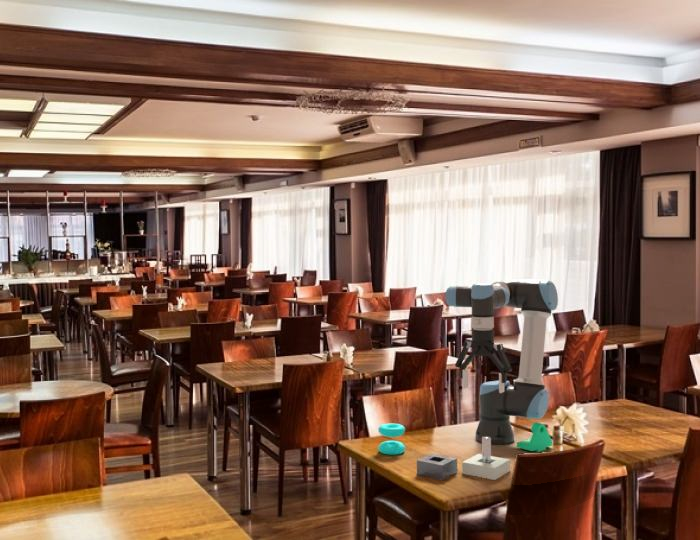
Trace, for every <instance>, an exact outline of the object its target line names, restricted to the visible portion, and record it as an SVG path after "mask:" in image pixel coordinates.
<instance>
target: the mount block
mask: <svg viewBox="0 0 700 540" xmlns="http://www.w3.org/2000/svg"><path fill="white" fill-rule="evenodd" d="M457 473H458V458H457V457H453V456H449V455H443V454H436V453H432V452H431V453H429V454H427V455H425V456H423V457H421V458H419V459H416V476H420V477H425V478H429V479H430V478H431V479H435V480H439V481H444V480H446V479H448V478H450V477H452V476H453V475H456V474H457Z"/></svg>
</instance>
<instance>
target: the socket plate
mask: <svg viewBox="0 0 700 540" xmlns="http://www.w3.org/2000/svg"><path fill="white" fill-rule="evenodd" d="M461 463H462V464H461V465H462V466H461V467H462V469H461V472H462V474H463V475H467V476H472V477H476V476H477V477H478V478H481V477H482V478H483V479H486V478H487V480H493V481H496V480H498V479H499V478H501V477H502V476H504V475H506V474H507V473H509V472H510V471H511V459H510V458H504V457H498V456H493V455H491V463H490V464H488V463H483V462H482V453H477V454H475V455H473V456H471V457H470V458H468V459H466V460H464V461H462V462H461Z"/></svg>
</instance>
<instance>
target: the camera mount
mask: <svg viewBox="0 0 700 540" xmlns="http://www.w3.org/2000/svg"><path fill="white" fill-rule="evenodd" d="M530 429H531V433H532V435H531V438H530V439H525V440H521V441H517V442H516V447H517V448H519V449H523V450H526V451H530V452H533V451H534V452H537V453H539V452H543V451H546V450H547V448H549V447H553V440H552V438H551V436H550V433H549V432H548V431H549V430H548V429H547V427H546V425H545V424H544V423H542V422H541V423H540V422H533V424H532V425H531V428H530Z"/></svg>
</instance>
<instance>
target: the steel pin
mask: <svg viewBox="0 0 700 540" xmlns="http://www.w3.org/2000/svg"><path fill="white" fill-rule="evenodd" d="M481 454H482V462H483V463H488V464H490V463H491V456H492V444H491V437H482V442H481Z"/></svg>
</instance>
